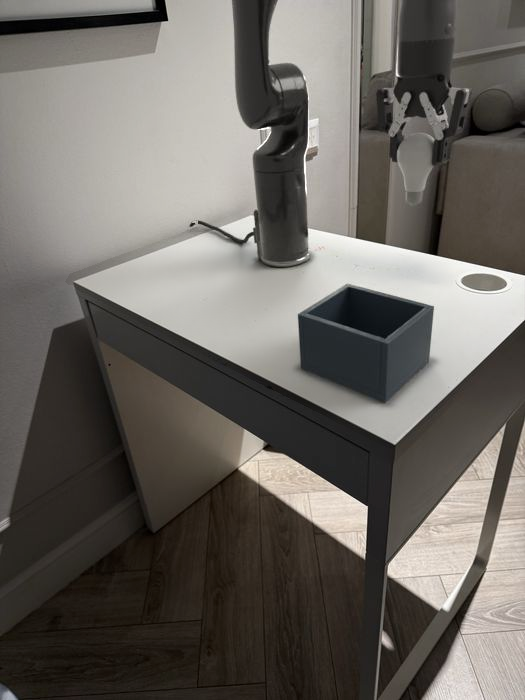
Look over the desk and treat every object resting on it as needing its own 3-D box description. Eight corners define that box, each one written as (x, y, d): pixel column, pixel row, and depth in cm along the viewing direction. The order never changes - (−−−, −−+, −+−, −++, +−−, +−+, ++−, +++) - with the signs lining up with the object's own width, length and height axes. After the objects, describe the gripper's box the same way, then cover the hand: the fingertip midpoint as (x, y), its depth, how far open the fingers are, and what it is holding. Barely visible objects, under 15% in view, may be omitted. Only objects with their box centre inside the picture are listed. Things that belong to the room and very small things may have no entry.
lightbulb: (434, 211, 80) (442, 136, 74) (394, 212, 81) (398, 137, 75) (431, 199, 85) (438, 128, 79) (393, 200, 86) (397, 130, 80)
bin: (300, 368, 68) (297, 314, 64) (347, 334, 74) (347, 283, 70) (385, 402, 60) (387, 343, 56) (429, 361, 66) (434, 306, 62)
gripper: (490, 31, 69) (472, 162, 78) (393, 37, 77) (388, 154, 86) (465, 35, 64) (450, 173, 73) (365, 41, 73) (363, 164, 82)
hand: (416, 162), depth 80 cm, fingers closed on lightbulb, 6 cm apart
